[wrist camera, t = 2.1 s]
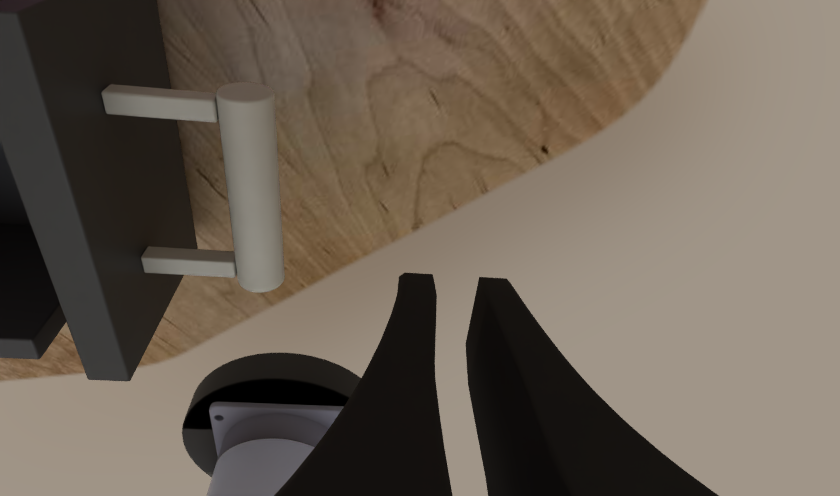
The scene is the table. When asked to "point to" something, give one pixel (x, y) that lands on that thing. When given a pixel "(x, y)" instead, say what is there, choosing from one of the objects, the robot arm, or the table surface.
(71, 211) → the drawer
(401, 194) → the table surface
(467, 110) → the table surface
